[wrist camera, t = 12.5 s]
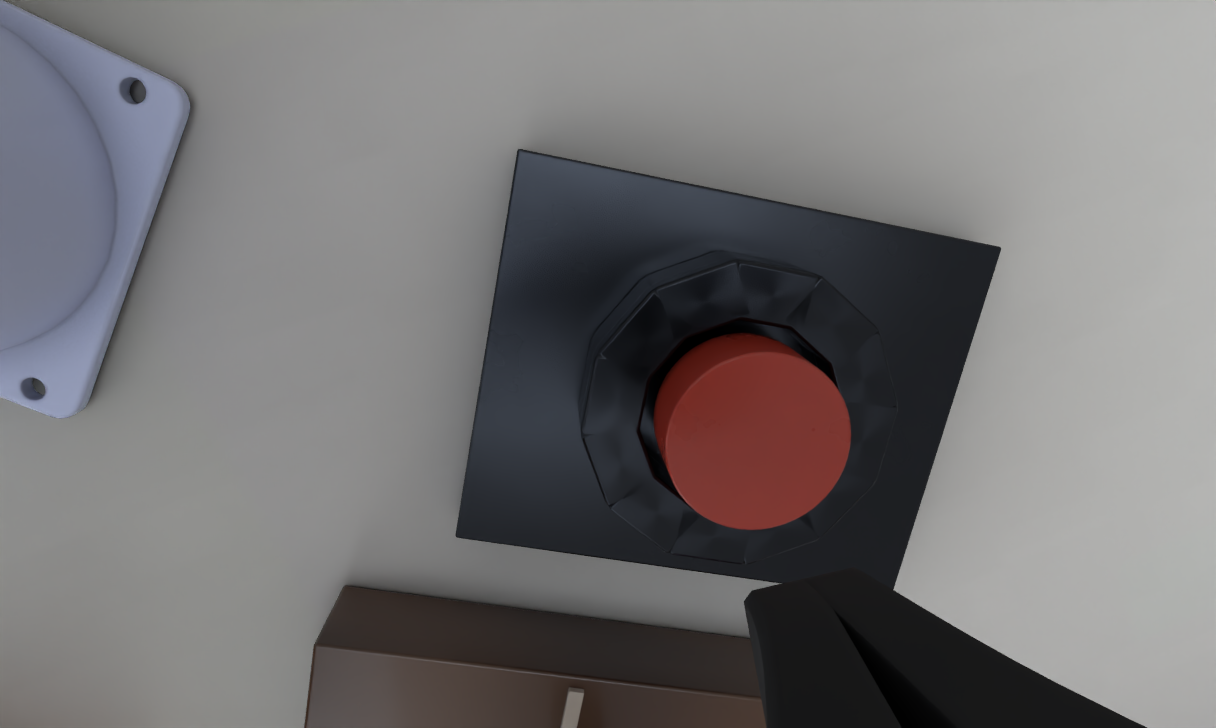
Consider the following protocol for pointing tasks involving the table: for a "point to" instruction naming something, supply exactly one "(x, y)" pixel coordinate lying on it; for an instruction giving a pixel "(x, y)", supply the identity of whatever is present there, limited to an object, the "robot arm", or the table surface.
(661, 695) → the panel
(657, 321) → the button block
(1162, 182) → the table surface
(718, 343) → the release button
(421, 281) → the table surface
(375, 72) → the table surface
